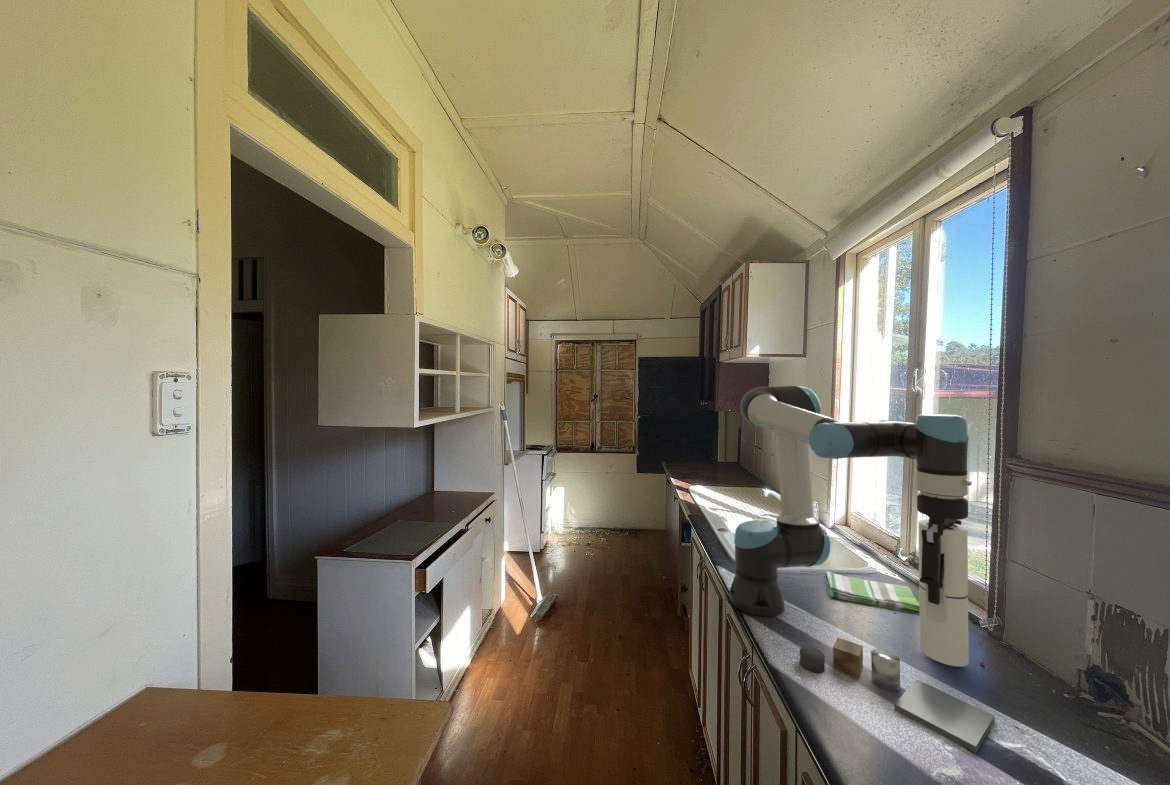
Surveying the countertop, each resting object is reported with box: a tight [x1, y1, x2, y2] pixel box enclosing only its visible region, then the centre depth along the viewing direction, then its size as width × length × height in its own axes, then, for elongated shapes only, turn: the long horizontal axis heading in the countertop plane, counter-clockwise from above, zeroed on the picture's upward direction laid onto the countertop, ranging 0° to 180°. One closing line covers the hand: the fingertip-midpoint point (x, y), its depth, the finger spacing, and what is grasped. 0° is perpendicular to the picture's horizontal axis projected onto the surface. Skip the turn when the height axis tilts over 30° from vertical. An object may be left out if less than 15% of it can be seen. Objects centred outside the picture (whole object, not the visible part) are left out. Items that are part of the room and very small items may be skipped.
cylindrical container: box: [918, 519, 970, 667], centre depth 80 cm, size 7×7×25 cm
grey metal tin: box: [870, 648, 901, 693], centre depth 89 cm, size 5×5×6 cm
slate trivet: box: [893, 679, 996, 754], centre depth 80 cm, size 12×12×1 cm
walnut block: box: [832, 636, 864, 679], centre depth 94 cm, size 5×5×5 cm
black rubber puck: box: [799, 646, 826, 674], centre depth 95 cm, size 5×5×3 cm
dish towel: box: [824, 570, 920, 615], centre depth 128 cm, size 17×23×4 cm
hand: (942, 612), depth 80 cm, fingers closed on cylindrical container, 7 cm apart
